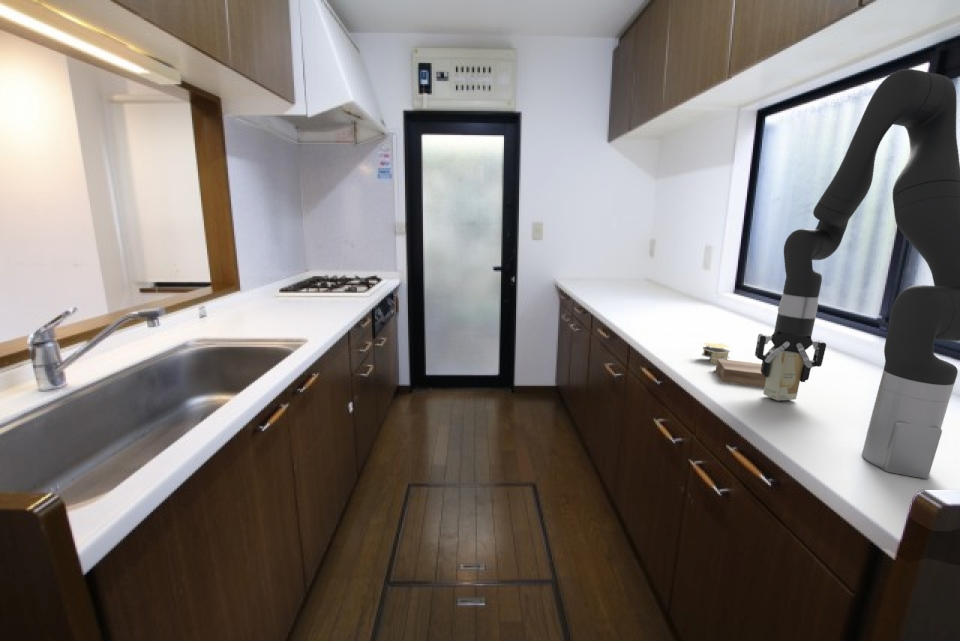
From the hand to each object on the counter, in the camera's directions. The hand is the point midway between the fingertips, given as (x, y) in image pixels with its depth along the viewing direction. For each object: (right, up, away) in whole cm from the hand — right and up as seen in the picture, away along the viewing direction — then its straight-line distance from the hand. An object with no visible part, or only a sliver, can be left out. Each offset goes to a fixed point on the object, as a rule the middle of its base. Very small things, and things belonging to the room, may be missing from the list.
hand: (783, 378), depth 112 cm
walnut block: (-1, -2, +15) cm, 16 cm away
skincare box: (0, -5, +1) cm, 5 cm away
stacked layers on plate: (-1, +1, +31) cm, 31 cm away
